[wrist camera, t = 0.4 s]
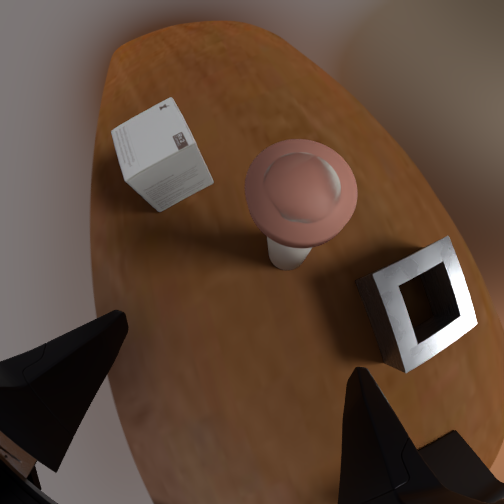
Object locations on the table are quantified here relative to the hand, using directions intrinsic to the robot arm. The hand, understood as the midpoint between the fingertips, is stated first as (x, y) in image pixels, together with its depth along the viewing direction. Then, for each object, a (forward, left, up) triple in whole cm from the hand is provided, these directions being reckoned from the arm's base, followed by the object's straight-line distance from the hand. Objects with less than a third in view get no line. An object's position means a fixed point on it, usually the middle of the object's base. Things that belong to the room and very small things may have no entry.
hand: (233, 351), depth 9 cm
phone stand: (-24, -12, -13) cm, 30 cm away
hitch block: (-3, -13, -13) cm, 19 cm away
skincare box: (+16, +2, -13) cm, 21 cm away
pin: (+5, -5, -13) cm, 15 cm away
